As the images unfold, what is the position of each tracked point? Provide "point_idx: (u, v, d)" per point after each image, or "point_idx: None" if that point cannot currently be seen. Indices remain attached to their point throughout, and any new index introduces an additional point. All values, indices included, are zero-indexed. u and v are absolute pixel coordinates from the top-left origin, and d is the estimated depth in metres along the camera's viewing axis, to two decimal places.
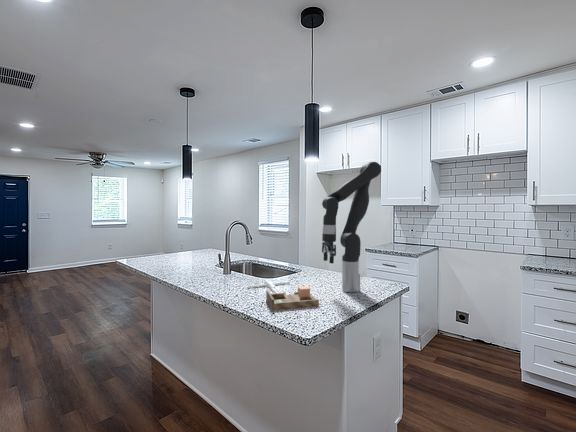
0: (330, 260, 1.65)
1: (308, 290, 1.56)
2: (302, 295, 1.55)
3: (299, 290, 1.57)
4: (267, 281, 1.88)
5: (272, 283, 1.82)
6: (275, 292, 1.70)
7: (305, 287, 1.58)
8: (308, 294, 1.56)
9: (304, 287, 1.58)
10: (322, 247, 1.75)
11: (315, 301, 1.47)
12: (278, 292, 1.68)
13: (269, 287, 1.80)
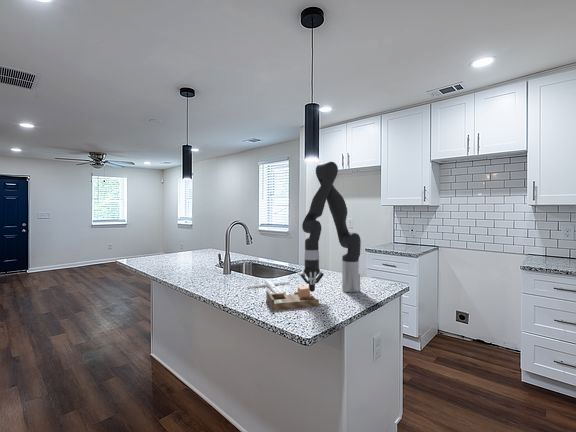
0: (313, 288, 1.58)
1: (308, 290, 1.56)
2: (302, 295, 1.55)
3: (299, 290, 1.57)
4: (267, 281, 1.88)
5: (272, 283, 1.82)
6: (275, 292, 1.70)
7: (305, 287, 1.58)
8: (308, 294, 1.56)
9: (304, 287, 1.58)
10: (305, 279, 1.56)
11: (315, 301, 1.47)
12: (278, 292, 1.68)
13: (269, 287, 1.80)
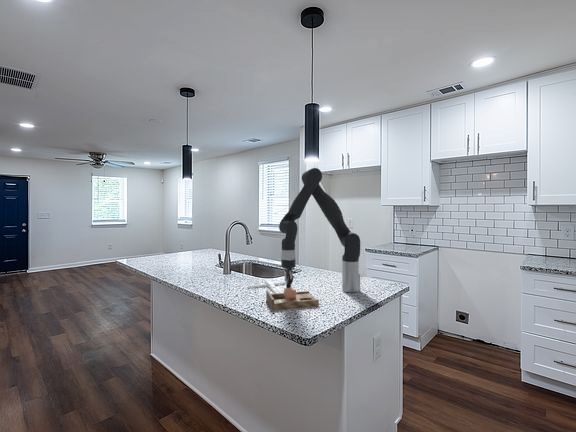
0: None
1: (294, 291, 1.54)
2: (288, 296, 1.53)
3: (285, 291, 1.55)
4: (267, 281, 1.87)
5: (272, 283, 1.82)
6: (275, 292, 1.69)
7: (291, 288, 1.57)
8: (294, 295, 1.54)
9: (290, 288, 1.57)
10: (292, 279, 1.57)
11: (315, 301, 1.47)
12: (278, 292, 1.68)
13: (269, 287, 1.80)
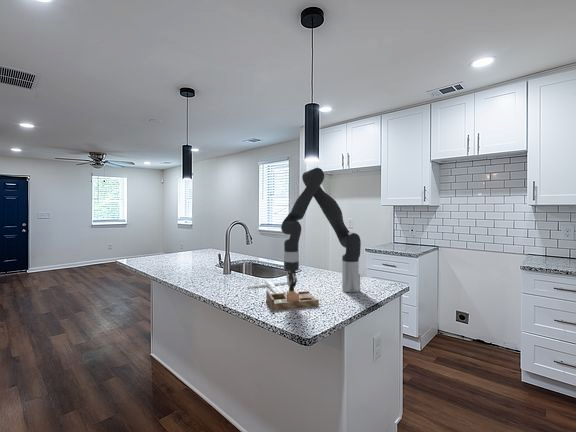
0: None
1: (297, 295, 1.48)
2: (290, 300, 1.47)
3: (288, 295, 1.49)
4: (267, 281, 1.87)
5: (272, 283, 1.82)
6: (275, 292, 1.69)
7: (294, 292, 1.50)
8: (297, 299, 1.48)
9: (293, 292, 1.50)
10: (295, 282, 1.50)
11: (315, 301, 1.47)
12: (278, 292, 1.68)
13: (269, 287, 1.80)
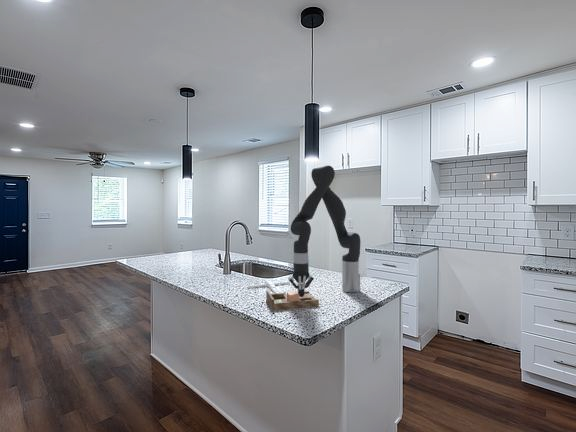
0: (303, 293, 1.49)
1: (297, 296, 1.46)
2: (291, 301, 1.45)
3: (288, 296, 1.47)
4: (267, 281, 1.87)
5: (272, 283, 1.82)
6: (275, 292, 1.69)
7: (294, 293, 1.49)
8: (297, 300, 1.46)
9: (293, 293, 1.49)
10: (293, 284, 1.48)
11: (315, 301, 1.47)
12: (278, 292, 1.67)
13: (269, 287, 1.80)
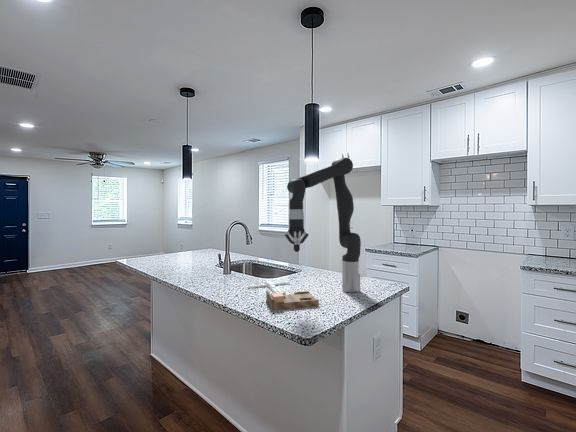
0: (298, 248, 1.57)
1: (282, 298, 1.44)
2: None
3: None
4: (267, 281, 1.87)
5: (272, 283, 1.82)
6: (275, 292, 1.69)
7: (279, 294, 1.47)
8: None
9: (278, 294, 1.47)
10: (289, 239, 1.55)
11: (315, 301, 1.47)
12: (278, 292, 1.67)
13: (269, 287, 1.80)
